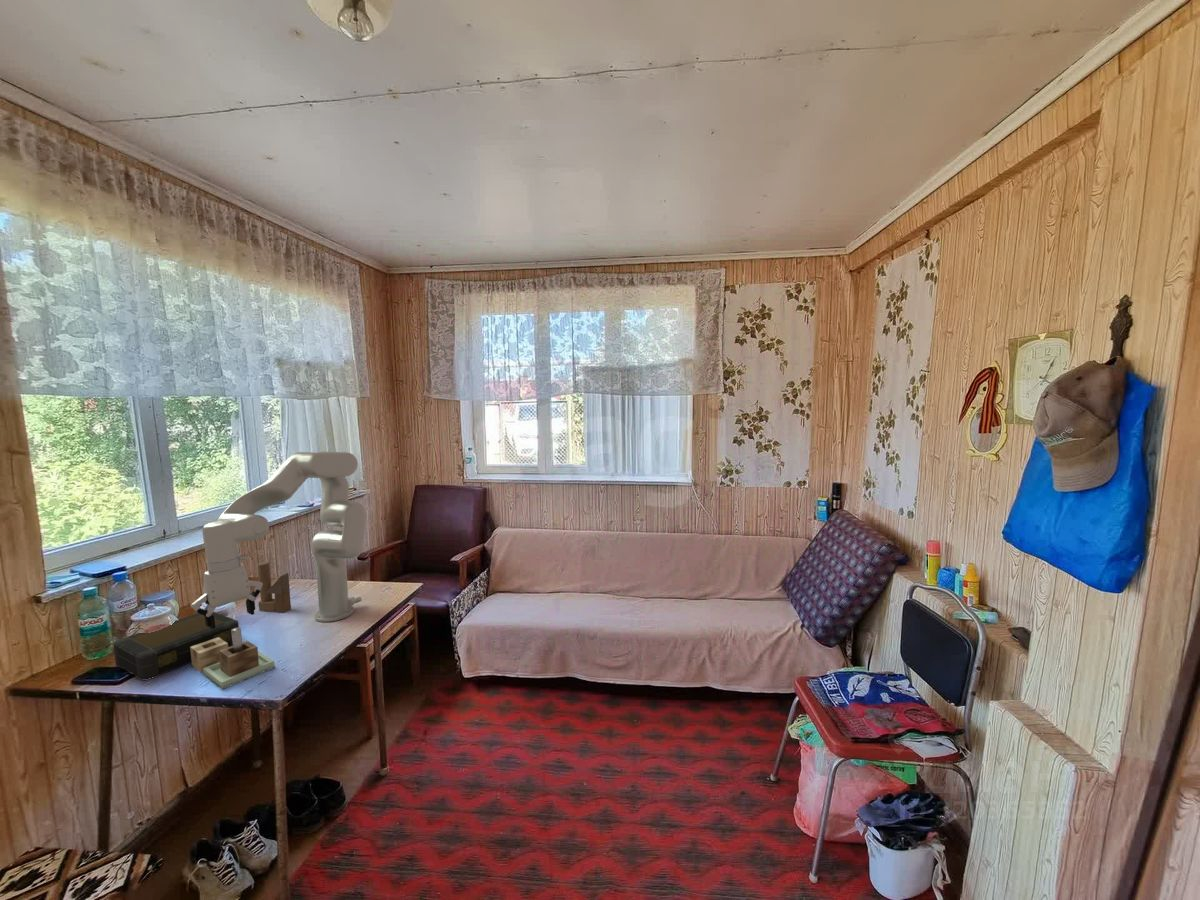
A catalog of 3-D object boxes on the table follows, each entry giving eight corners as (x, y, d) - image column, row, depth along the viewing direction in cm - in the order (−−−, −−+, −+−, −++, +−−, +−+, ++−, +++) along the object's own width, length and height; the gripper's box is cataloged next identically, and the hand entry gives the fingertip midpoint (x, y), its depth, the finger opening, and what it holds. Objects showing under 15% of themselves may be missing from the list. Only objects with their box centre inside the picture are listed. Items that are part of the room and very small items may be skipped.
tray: (255, 654, 150) (254, 648, 150) (274, 667, 143) (274, 661, 143) (203, 674, 139) (202, 668, 139) (222, 689, 132) (221, 682, 132)
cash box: (210, 629, 167) (208, 608, 166) (242, 642, 158) (240, 620, 157) (112, 665, 145) (109, 640, 144) (143, 683, 136) (140, 657, 135)
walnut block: (248, 659, 146) (246, 640, 145) (259, 666, 142) (257, 646, 141) (220, 670, 140) (218, 650, 139) (230, 677, 136) (229, 657, 136)
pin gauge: (241, 659, 142) (238, 626, 141) (245, 661, 141) (242, 628, 140) (233, 662, 140) (230, 629, 139) (236, 664, 139) (233, 631, 138)
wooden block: (283, 613, 179) (280, 566, 177) (258, 611, 181) (254, 564, 179) (291, 608, 183) (288, 562, 181) (266, 606, 185) (263, 561, 183)
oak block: (220, 655, 150) (218, 637, 149) (229, 662, 146) (227, 643, 145) (192, 666, 144) (190, 646, 143) (200, 673, 140) (199, 653, 140)
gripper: (252, 552, 147) (259, 605, 150) (181, 572, 133) (189, 630, 135) (264, 557, 143) (270, 611, 146) (191, 577, 129) (200, 637, 131)
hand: (231, 620), depth 140 cm, fingers open, 9 cm apart
